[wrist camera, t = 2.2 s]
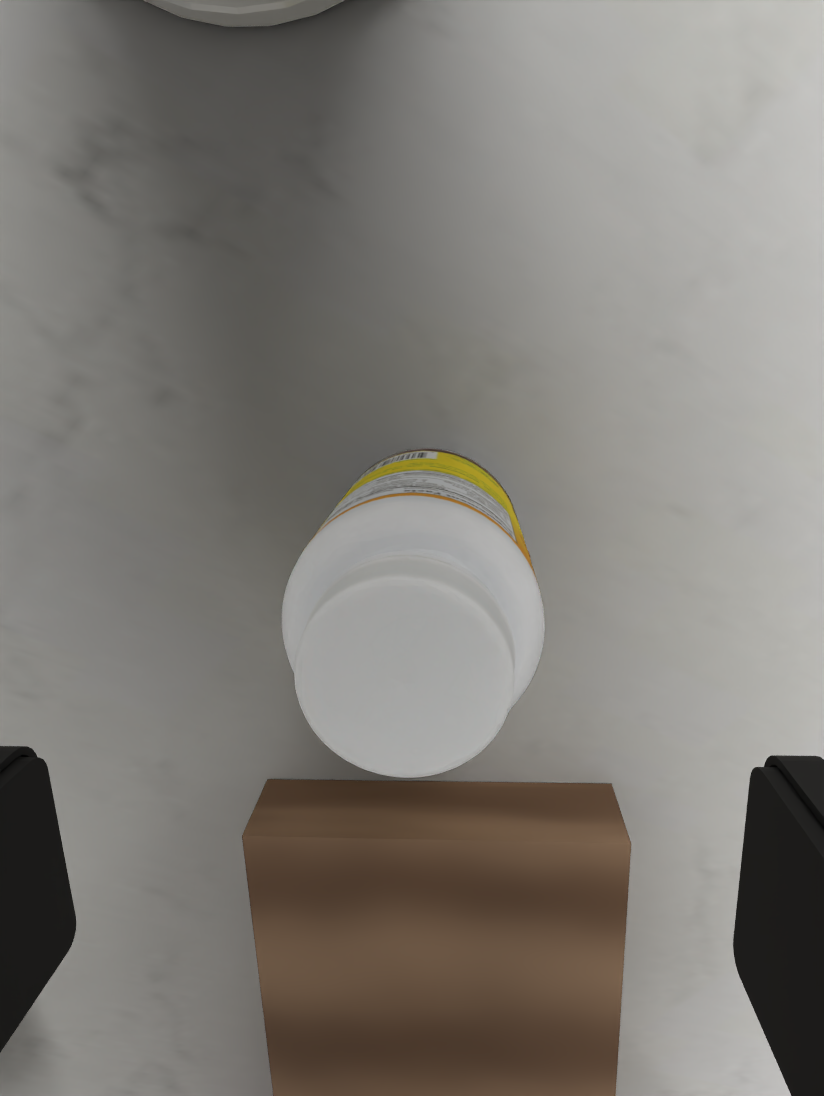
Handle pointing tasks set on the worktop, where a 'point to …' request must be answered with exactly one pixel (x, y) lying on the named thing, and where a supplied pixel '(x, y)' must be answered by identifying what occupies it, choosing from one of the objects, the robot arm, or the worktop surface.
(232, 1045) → the worktop surface
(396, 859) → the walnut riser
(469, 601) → the supplement bottle
